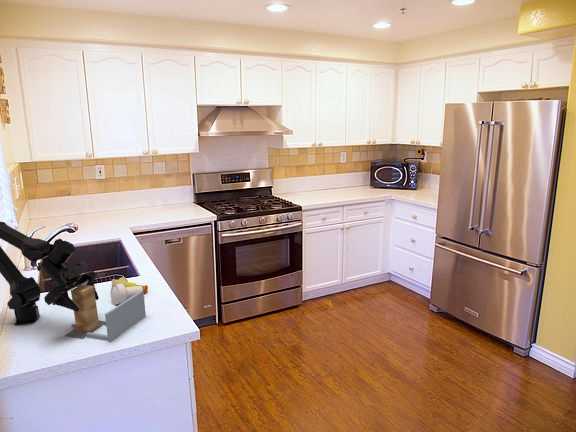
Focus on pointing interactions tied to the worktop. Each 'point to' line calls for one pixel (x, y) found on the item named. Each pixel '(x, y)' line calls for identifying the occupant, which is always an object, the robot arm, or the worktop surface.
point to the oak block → (85, 308)
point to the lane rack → (122, 317)
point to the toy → (128, 284)
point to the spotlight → (123, 293)
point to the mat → (82, 335)
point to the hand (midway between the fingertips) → (88, 304)
